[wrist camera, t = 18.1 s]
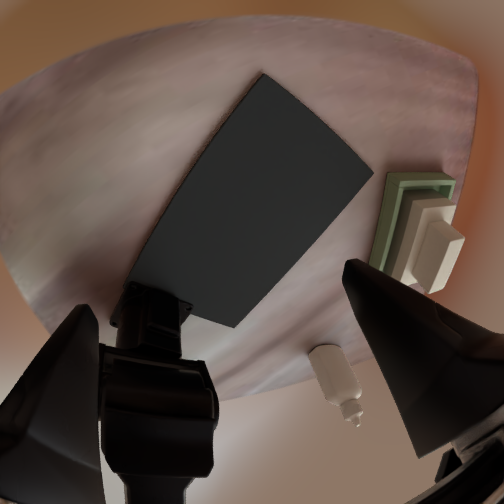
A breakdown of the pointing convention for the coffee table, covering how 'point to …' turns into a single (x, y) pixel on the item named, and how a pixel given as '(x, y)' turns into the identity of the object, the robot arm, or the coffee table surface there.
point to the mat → (250, 206)
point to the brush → (423, 240)
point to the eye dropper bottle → (337, 380)
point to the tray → (392, 204)
